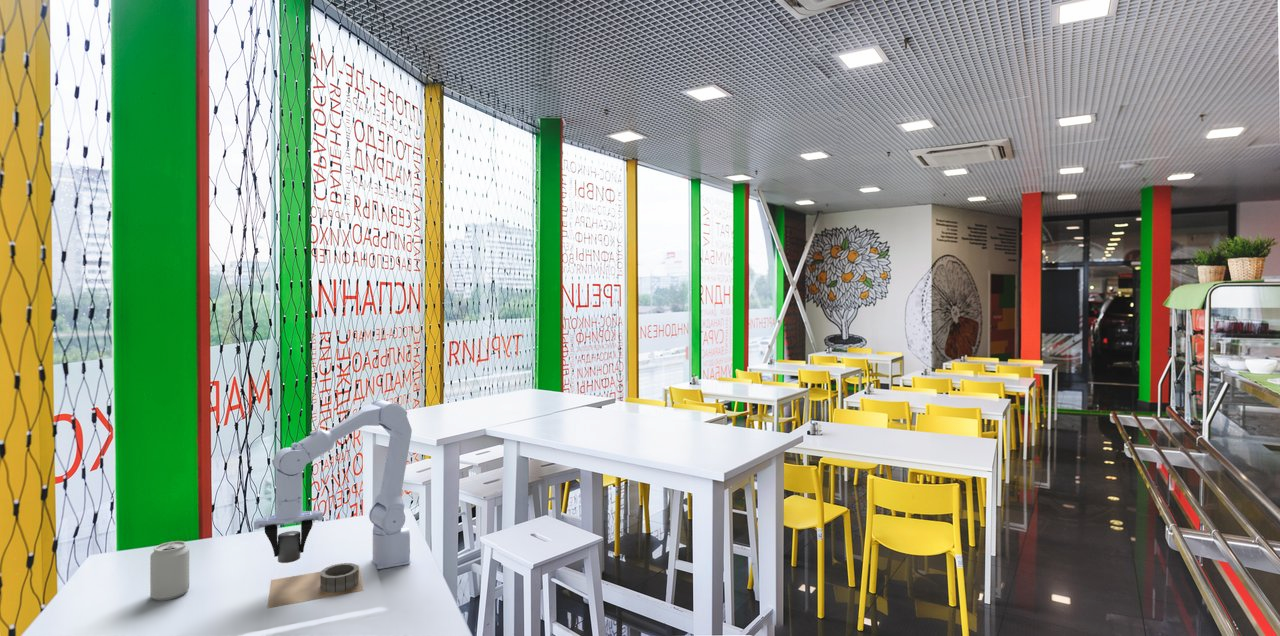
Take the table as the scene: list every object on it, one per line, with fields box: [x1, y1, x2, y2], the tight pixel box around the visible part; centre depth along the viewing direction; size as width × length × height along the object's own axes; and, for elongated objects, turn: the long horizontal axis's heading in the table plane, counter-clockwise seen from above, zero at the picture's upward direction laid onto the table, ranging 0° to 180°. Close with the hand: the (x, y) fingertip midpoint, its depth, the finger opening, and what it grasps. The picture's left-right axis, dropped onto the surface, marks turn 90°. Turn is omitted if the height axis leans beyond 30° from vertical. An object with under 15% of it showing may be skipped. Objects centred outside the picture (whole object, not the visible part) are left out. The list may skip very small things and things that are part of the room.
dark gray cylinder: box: [277, 530, 301, 564], centre depth 151 cm, size 5×5×6 cm
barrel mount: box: [267, 562, 364, 609], centre depth 152 cm, size 20×16×4 cm
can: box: [149, 540, 190, 601], centre depth 148 cm, size 8×8×12 cm
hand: (289, 553), depth 151 cm, fingers closed on dark gray cylinder, 5 cm apart
